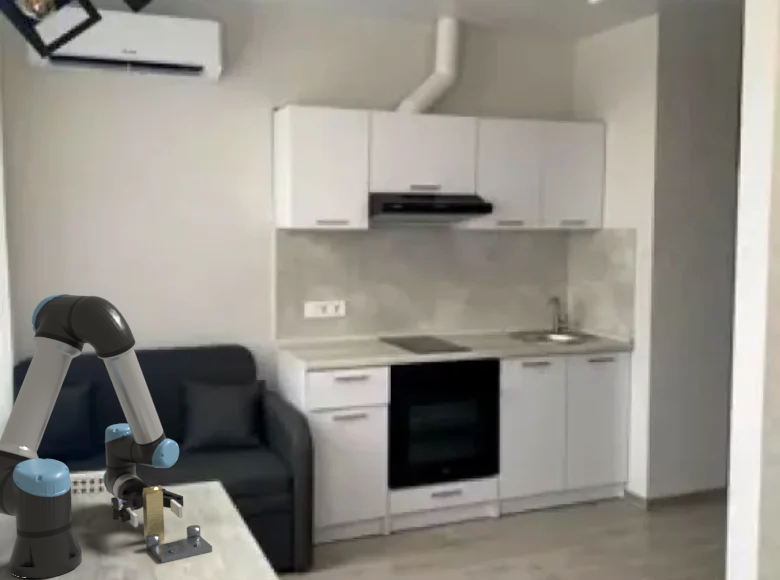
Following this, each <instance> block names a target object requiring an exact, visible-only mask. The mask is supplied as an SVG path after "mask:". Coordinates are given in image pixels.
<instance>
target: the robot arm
mask: <svg viewBox="0 0 780 580" xmlns="http://www.w3.org/2000/svg"><path fill="white" fill-rule="evenodd" d="M31 324H32V330H33V332H34V333H35V334H34V337H33V342H34V344H35V346H36V349H35V352H34V354H33V357H32V360H31V362H30V364H29V366H28V369H27V372H26V374H25V377H24V380H23V382H22V385H21V387H20V390H19V392H18V394H17V397H16V400H15V402H14V404H13V407H12V410H11V412H10V414H9V417H8V419H7V423H5V427H4V430H3V432H2V434H1V437H0V514H1V515H7V516H11V517H14V518H15V524H16V525H15V526H16V528H15V529H16V538H15V540H14V541H15V542H14V544H13V548H12V552H11V555H10V557H9V558H10V559H9V573H10V572H11V573H12V574H14V575H16V576H19V577H26V578H41V579H47V577H48V578H53V577H56V576H60V575H64V574H67V573H69V572H71V571H73V570H75V569H76V568H78V566H80V565H81V563H82V562H83V558H82V556H83V555H82V548H81V546H80V544H79V542H78V539H77V536H76V534H75V532H74V529H73V516H72V515H73V514H72V513H73V512H72V511H73V510H72V480H71V475H70V469H69V467H68V466H67V465H66V464H65V463H64V462H62V461H59V460H56V459H52V458H39V456H38V453H37V451H38V449H39V447H40V445H41V442H42V439H43V436H44V433H45V430H46V428H47V425H48V422H49V420H50V418H51V415H52V412H53V410H54V407H55V405H56V402H57V399H58V396H59V393H60V392H61V389H62V385H63V383H64V380H65V378H66V375H67V373H68V370H69V368H70V365H71V363H72V360H73V359H74V358H77V357H79V356H81V354H82V352H83V349H84V345H85V344H89V345H90V346H91V347H92V348H93V350H94V352H95V354H96V356H97V358H98V359H101V360H103V363H104V364H105V368H106V371H107V373H108V375H109V379H110V381H111V382H112V385H113V388H114V390H115V394H116V396H117V398H118V401H119V404H120V407H121V409H122V411H123V414H124V417H125V419H126V422H127V423H117V424H115V423H114V424H112V425H109V426H107V428H106V429H105V436H104V437H105V439H104V444H105V445H104V446H105V461H106V463H105V464H106V468H105V469H106V470H105V472H104V474H103V477H102V481H103V485H104V487H105V488H106V490H107V492H108V493H109V494H111V495H112V496H113V497H111V499H110V500H111V501H110V503H111V504H110V506H111V509H112V520H113V521H116V520H119V518H120V519H121V521H120V522H121V523H125V522H129V523H130V524H131V525H132V526H133V527H134V528H137V527H139V520H138V519H139V518H138V514H137V513H136V512H135V511H137V510H141V509H143V488H147V487H149V486H148V484H146V482H144V481H143V480H142V479H141V478H140V477H138V476H137V473H136V472H137V471H136V465H143V466H147V467H151V468H152V467H153V468H154V469H155V468H156V469H158V468H159V469H169V468H171V467H172V466H174V465H175V464H176V462H177V460H178V458H179V455H180V448H179V444H178V443H177V442H176V441H175V440H173V439H171V438H168V437H166V434H165V431H164V429H163V426H162V423H161V420H160V417H159V414H158V412H157V410H156V407H155V404H154V402H153V398H152V395H151V393H150V390H149V388H148V385H147V382H146V380H145V376H144V374H143V371H142V368H141V366H140V363H139V360H138V358H137V354H136V352H135V350H134V348H135V346H136V344H137V343H136V340H135V337H134V334H133V332H132V329H131V328H130V326H129V323H128V321H127V320H126V319H125V317H124V316H123V314H122V313H121V312H120V311H119V309H118V308H117V307H116V306H115V305H114V304H113V303H112V302H110V300H107V299H105V298H103V297H100V296H97V295H72V294H68V293H67V294H66V293H65V294H64V293H62V294H53V295H51V296H47V297H45V298H44V299H43V300H41V301H40V302H39V303H38V304H37V305H36V307H35V308H34V310H33V312H32V317H31ZM162 492H163V508H167V509H170V511H171V512H172V513H173V514H174V515H176V517H178V518H179V519H182V518H183V507H184V496H183V495H181V494H178V493H174V492H172V491H169V490H167V489H166V488H162ZM121 505H122V507H121ZM11 573H10V574H11ZM12 574H11V575H12Z"/></svg>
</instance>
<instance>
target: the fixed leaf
mask: <svg viewBox="0 0 780 580" xmlns="http://www.w3.org/2000/svg"><path fill="white" fill-rule="evenodd" d="M145 550H146V551H147V552H150V553H151V554H152V555H153V556H154V557H155V558H156V559H157V560H158V561H159V562H160V563H161V564H164V563H169V562H172V561H177V560H181V559H184V558H185V559H186V558H190V557H194V556H198V555H202V554H206V553H210V552H211V553H212V552H213V546H212V545H211V544H210V543H209V542H208V541H207V540H206V539H204V538H203V537H202V536H201V526H200V525H198V524H193V525H188V526H187V527H186V538H184V539H180V540H179V539H178V540H175V541H170V542H166V543H162V544H161V541H160V535H159V534H149V535H147V536H146V541H145Z"/></svg>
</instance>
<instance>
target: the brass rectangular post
mask: <svg viewBox="0 0 780 580" xmlns="http://www.w3.org/2000/svg"><path fill="white" fill-rule="evenodd" d="M142 512H143V515H142V516H143V539H144V541H145V542H146V536H147V535H149V534H159V535H160V542H161V541H165V522H164V521H165V519H164V515H165V514H164V507H163V492H162V485H161V484H159V485H155V486H153V485H152V486H148V487H147V488H143V507H142Z"/></svg>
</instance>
